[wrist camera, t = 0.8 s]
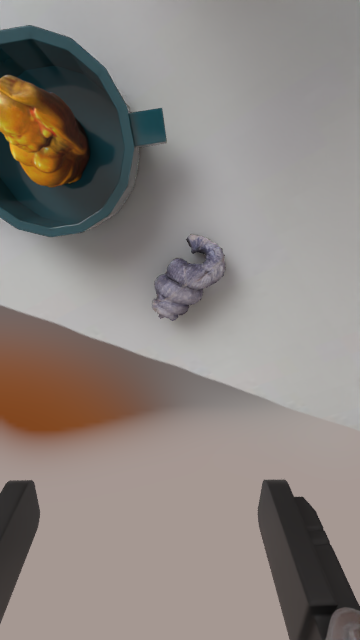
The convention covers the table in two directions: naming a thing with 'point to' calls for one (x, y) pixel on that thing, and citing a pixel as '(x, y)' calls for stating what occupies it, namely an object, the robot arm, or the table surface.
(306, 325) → the table surface
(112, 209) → the pot
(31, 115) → the figurine
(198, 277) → the seashell
